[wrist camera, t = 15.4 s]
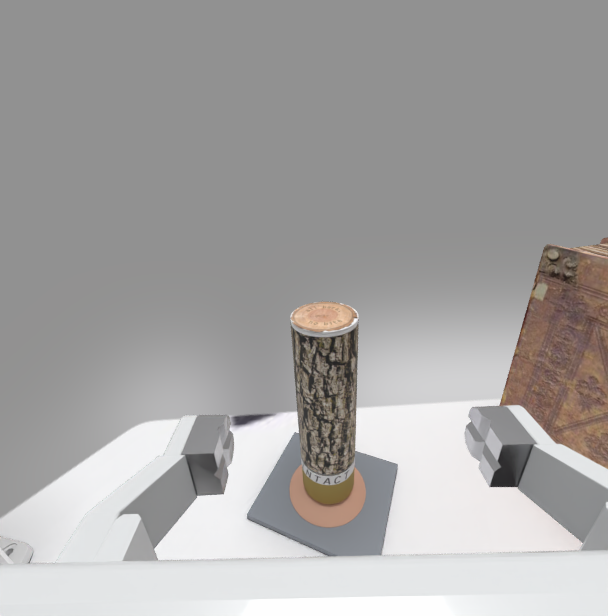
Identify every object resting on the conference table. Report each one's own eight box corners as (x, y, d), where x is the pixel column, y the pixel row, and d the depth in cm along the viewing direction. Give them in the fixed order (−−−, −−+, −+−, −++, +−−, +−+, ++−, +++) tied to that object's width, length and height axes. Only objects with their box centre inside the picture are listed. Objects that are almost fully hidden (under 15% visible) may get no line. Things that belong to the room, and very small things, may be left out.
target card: (247, 518, 39) (246, 514, 39) (295, 435, 51) (294, 431, 50) (376, 577, 33) (377, 572, 33) (397, 468, 45) (397, 463, 44)
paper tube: (308, 457, 46) (298, 300, 35) (355, 464, 45) (360, 302, 34) (298, 502, 40) (282, 330, 29) (352, 512, 39) (356, 334, 28)
